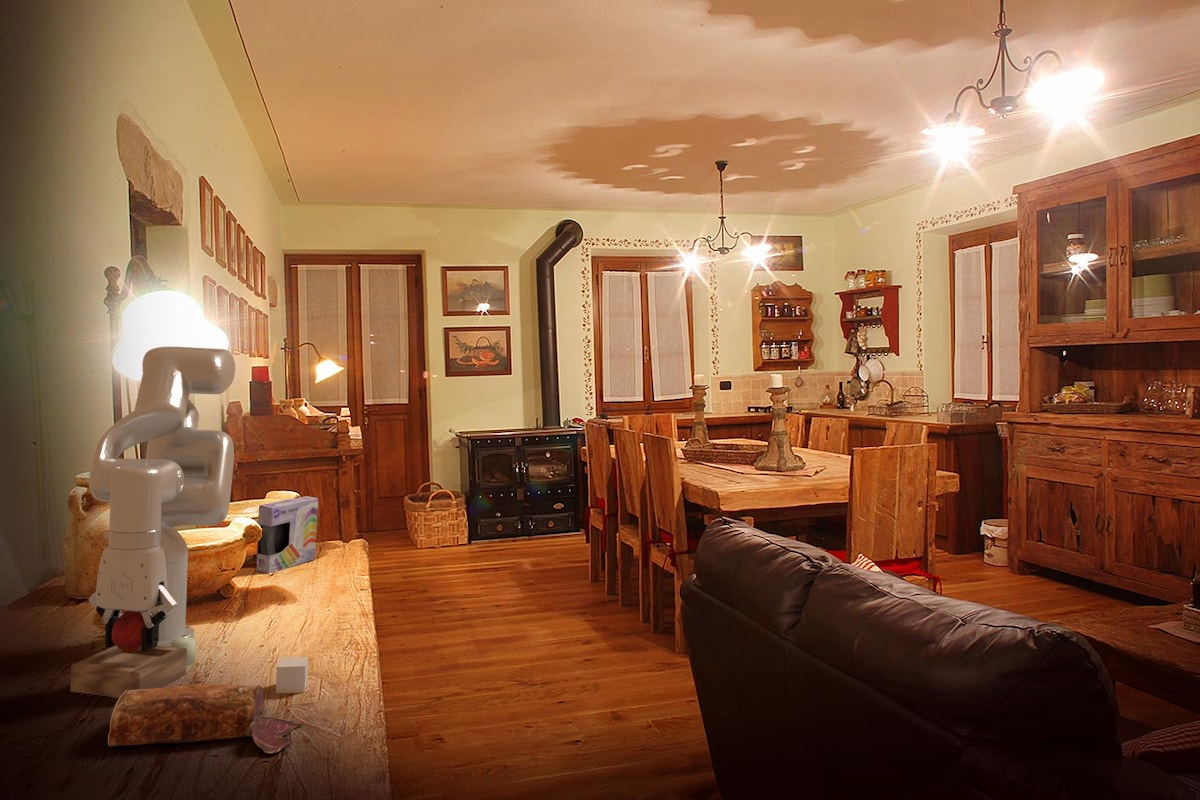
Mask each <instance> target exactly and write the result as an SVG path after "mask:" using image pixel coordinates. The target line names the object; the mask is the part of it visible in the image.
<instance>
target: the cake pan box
mask: <svg viewBox="0 0 1200 800" xmlns="http://www.w3.org/2000/svg"><path fill="white" fill-rule="evenodd" d="M318 507H319V498H318V497H313V496H306V495H305V496H302V497H300V496H299V497H297V498H290V499H289V498H287V499H283V500H278V501H274V502H269V503H264V504H259V505H258V524H259V525H260V526H261V528H262V537H261V539H260V540H259V541H258V540H257V548H256V550H257V551H256V570H255V571H256V572H258V573H264V574H271V573H274V572H278V571H282V570H286V569H288V568H291V567H294V566H297V565H301V564H303V563H304V564H305V563H307V562H310V561H313V560H315V559H316V547H317V531H318V530H317V528H318V527H317V526H318V514H319V513H318V511H319V510H318V509H319V508H318ZM258 524H257V525H258Z"/></svg>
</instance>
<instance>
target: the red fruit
mask: <svg viewBox="0 0 1200 800" xmlns="http://www.w3.org/2000/svg"><path fill="white" fill-rule="evenodd" d="M122 614H123V615H121V616H120V617H119V619H118V620H116V622H115V623H114V626H113V628H112V640H113V642H114V644H115V646H117V647H118V648H120V649H122V650H123V651H125V652H127V653H134V652H136V651H137V650H138V649H139V648H140V647H142V629H143V628H144V627H146V625H145V622H144V618H143V615H142V613H141V612H131V611H125V612H124V613H122Z"/></svg>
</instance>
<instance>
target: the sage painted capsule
mask: <svg viewBox="0 0 1200 800" xmlns="http://www.w3.org/2000/svg"><path fill="white" fill-rule="evenodd" d="M196 641H197V639H196V638H194V637H193V638H191V637H183V638H177V639H174V640H172V641H171V646H170V647H176V648H187V658H186V667H187V665H188V666H191V665H193V664H195V663H196V648H197V647H196V645H197V642H196Z"/></svg>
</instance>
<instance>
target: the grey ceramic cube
mask: <svg viewBox="0 0 1200 800" xmlns="http://www.w3.org/2000/svg"><path fill="white" fill-rule="evenodd" d="M309 658H310V657H309V656H303V657H300V656H299V657H295V656H294V657H280V659H279V661H278V663H277V665H276V672H275V673H276V679H275V694H295V693H296V694H298V693H300V692H301V694H302V692H303V693H305V692H306V689H305V688H307V686H308V683H309V681H308V680H309V679H308V677H309ZM307 682H308V683H307ZM306 685H307V686H306Z"/></svg>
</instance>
